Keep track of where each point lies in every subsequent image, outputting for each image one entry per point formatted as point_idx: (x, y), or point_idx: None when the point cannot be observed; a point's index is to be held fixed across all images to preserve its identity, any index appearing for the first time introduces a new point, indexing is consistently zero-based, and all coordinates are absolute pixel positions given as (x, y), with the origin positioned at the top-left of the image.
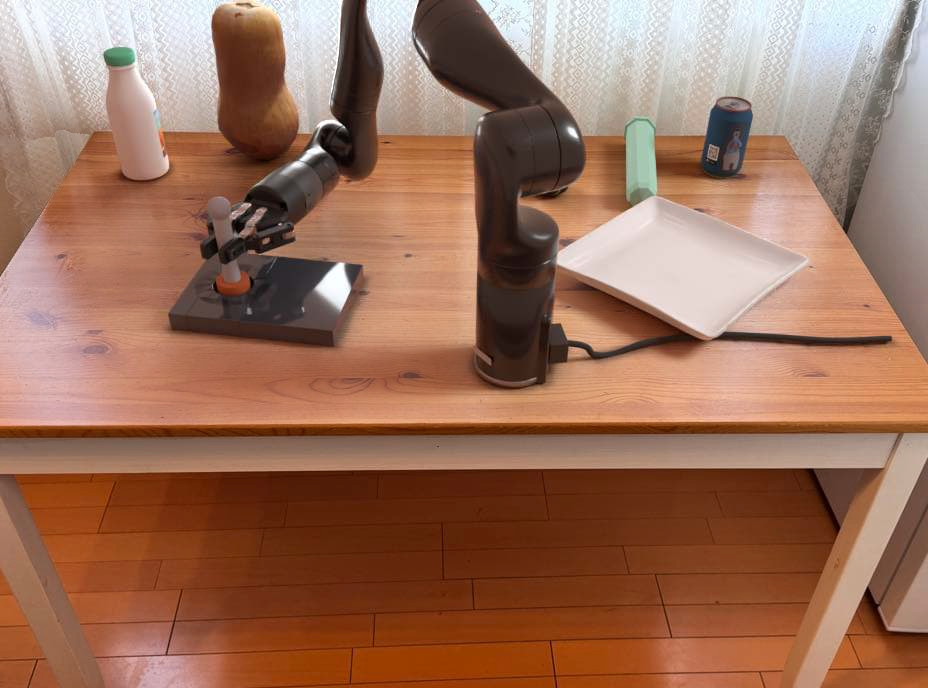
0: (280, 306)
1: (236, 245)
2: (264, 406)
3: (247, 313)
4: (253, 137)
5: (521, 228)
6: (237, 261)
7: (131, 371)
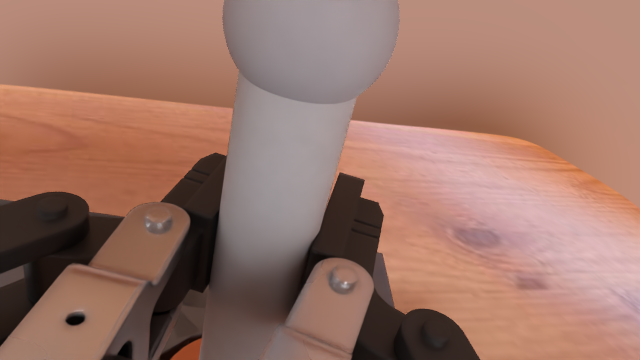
0: (7, 278)
1: (188, 190)
2: (87, 113)
3: None
4: None
5: None
6: (203, 328)
7: (369, 189)
